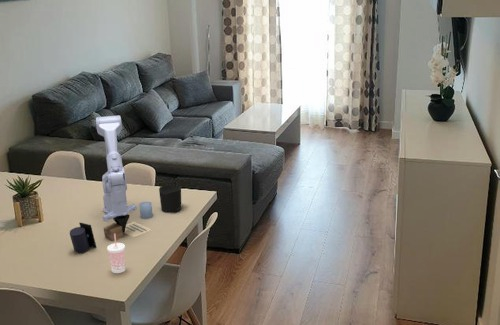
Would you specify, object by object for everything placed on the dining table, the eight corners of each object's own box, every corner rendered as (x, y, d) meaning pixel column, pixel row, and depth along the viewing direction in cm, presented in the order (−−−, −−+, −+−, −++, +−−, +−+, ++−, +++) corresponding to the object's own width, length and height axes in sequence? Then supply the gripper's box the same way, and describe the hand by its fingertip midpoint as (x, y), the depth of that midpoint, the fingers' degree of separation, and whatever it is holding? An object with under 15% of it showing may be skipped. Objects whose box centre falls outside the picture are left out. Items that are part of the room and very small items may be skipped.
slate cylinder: (138, 217, 234) (137, 204, 232) (147, 213, 238) (146, 200, 236) (145, 220, 231) (144, 207, 229) (154, 216, 234) (153, 203, 233)
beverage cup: (126, 273, 190) (122, 237, 185) (108, 274, 190) (104, 238, 185) (128, 264, 196) (124, 229, 191) (111, 265, 195) (107, 230, 191)
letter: (115, 229, 224) (115, 228, 224) (134, 221, 230) (133, 221, 230) (133, 237, 216) (133, 237, 216) (151, 230, 222) (151, 229, 222)
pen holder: (164, 215, 236) (162, 193, 232) (158, 207, 244) (156, 186, 240) (185, 211, 239) (183, 190, 236) (178, 203, 247) (177, 182, 244)
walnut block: (105, 238, 216) (103, 227, 215) (115, 232, 220) (114, 222, 218) (112, 241, 213) (110, 231, 211) (123, 236, 216) (121, 226, 215)
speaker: (89, 242, 212) (84, 219, 208) (96, 248, 208) (92, 224, 204) (71, 250, 208) (65, 227, 203) (78, 256, 204) (73, 232, 199)
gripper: (109, 208, 207) (112, 241, 211) (140, 197, 217) (143, 228, 221) (98, 203, 211) (102, 235, 216) (129, 192, 221) (132, 223, 226)
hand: (122, 231), depth 219 cm, fingers closed
